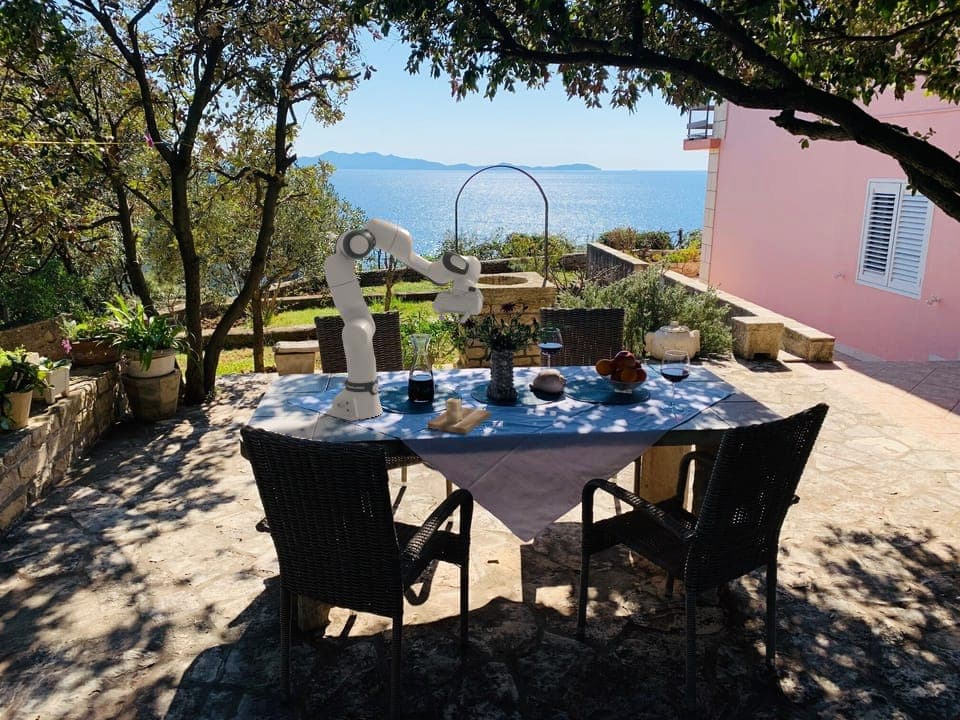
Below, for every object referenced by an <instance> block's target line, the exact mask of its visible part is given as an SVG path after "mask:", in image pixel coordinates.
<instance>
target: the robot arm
mask: <svg viewBox="0 0 960 720" xmlns="http://www.w3.org/2000/svg"><path fill="white" fill-rule="evenodd" d="M413 239H414V238H413V236H412V234H411V233H410V231H408V230H407V229H406V228H404V227H401V226H399V225H397V224H395V223H394V222H390V221H387V220H383V219H381V218H376V217H373V218H370V219H368V220H367V222H366V223H365V224H364V227H363V228H362V229H349V230H346V231H343V232H341V233H340V234H339V235H338V236H337V238H336V241H335V244H334V245H335V246H334V251H333V254H331V255H329V256H328V257H327V258H326V259H325V260H324V262H323V268H324V274H325V279H326V282H327V286H328V289H329V291H330V294H331V295H330V296H331V297H332V301H333V303H334V306H335V308H336V310H337V311H338V313H339V315H340V317H341V319H342V321H343V323H344V326H343V328H342V332H341V339H342V344H343V345H342V346H343V350H344V354H345V359H346V360H345V361H346V368H347V379H346V380H345V381H343V382H342V386H344V388H343V390H341V391H340V392H339V393H338V394H337V395H336V396H334V397H333V399H332V403H331V404H332V405H331V406H332V407H330V408H328V409H327V410H326V415H327V416H331V417H334V418H339V419H342V420H346V421H350V422H354V420H355V421H358V420H359V419H360V420H367V419H366V418H369V419H372V418H371V417H374V418H376V417H375V416H377V417H379V416H381V415H382V414H383V413H384V411H383V408H382V405H381V401H380V396H379V378H378V377H377V364H376V363H377V362H376V357H375V351H374V346H373V345H374V344H373V336H374V335H375V332H376V324H375V321H374V318H373V316H372V314H371V311H370V309H369V307H368V304H367V303H366V301H365V297H364V295H363V293H362V290H361V286H360V283H359V281H358V278H357V274H356V272H355V267H354V266H355V262H356V260H357V261H358V260H362V259H364V258H366V257H367V256H368V255H369V254H370V253H371V251H372V250H373V249H374V248H375V249H379V250H380V251H383V252H385V253H387V254H389V255H391V256H393V257H395V259H396V260H397V261H399V263H401V264H402V265H404V266H406V267H408V268H409V269H411V270H413V271H414V272H416V273H418V274H419V275H421V276H423V278H425V279H427V280H428V281H429V282H430V283H431V284H432V285H434V286H435V287H436V286H437V287H440V288H441V287H445V286H447V285H448V284H449V283H450V282H451V281H453V284H452V286H451V289H450V291H441V292H438V294H437V295H436V297H435V299H434V301H433V303H432V305H431V308H432V309H433V311H434V312H435V313H438V314H439V316H438V321H439V322H444V320H445V316H444V315H445V314H456V315H457V314H459V315H463V316H461V317H460V319H459V321H460V323H462V324H465V323H466V322H467V320H468V319H469V318H470V317H471V316H473V315H474V316H478V315H480V314H481V312H482V309H483V301H484V295H483V294H482V292H481V290H480V288H478V287H476V285H477V284H478V281H479V279H480V274H481V271H482V265H481V262H480V260H479V259H478V258H477V257H475V256H473V255H461V254H459V253H457V252H454V251H448V252H447V251H446V252H445V253H444V254H442V256H441V257H439V259H437V260H436V261H429V260H427V259H426V258H424V257H423V256H421V255H419V254H418V253H416V252H415V251H414V249H413V248H414V240H413ZM382 412H383V413H382ZM380 414H381V415H380ZM378 415H379V416H378Z"/></svg>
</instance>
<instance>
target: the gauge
mask: <svg viewBox="0 0 960 720" xmlns="http://www.w3.org/2000/svg"><path fill="white" fill-rule="evenodd" d="M462 408H463V407H462V399H460V398H448V399H447V400H446V401H445V409H446V410H445V412H446V419H447V422H453V423H458V422H460V421H463V420H462Z"/></svg>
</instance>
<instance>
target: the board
mask: <svg viewBox="0 0 960 720" xmlns="http://www.w3.org/2000/svg"><path fill="white" fill-rule="evenodd" d="M491 415H492V413H491V410H483V409H478V408H477V409H476V408H468V407H462V420H463V421H460V422H458V423H453V422H447V419H446V411H444V412H443V413H441V414H440V415H437V416H436V417H435V418H434V419H432V420H430V421H429V422H428V423H427V429H428V428H432V429H431V430H435V429H438V430H437V431H443V432H451V433H456V434H464V435H467V434H468V433H470V432H471V431H472V430H474V429H475V428H477V427H478V426H479V425H481V424H483V423H484V421H486V420H488V419H489V418H490V417H491Z"/></svg>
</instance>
